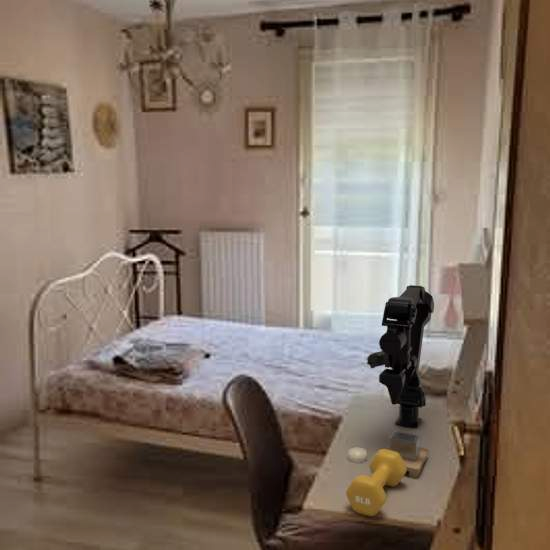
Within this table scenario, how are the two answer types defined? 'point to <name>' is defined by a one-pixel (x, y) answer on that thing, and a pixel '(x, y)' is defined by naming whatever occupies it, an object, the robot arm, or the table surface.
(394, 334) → the robot arm
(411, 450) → the housing
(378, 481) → the dumbbell
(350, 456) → the cream rounded piece
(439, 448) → the table surface
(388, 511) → the table surface
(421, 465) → the tan flat board
